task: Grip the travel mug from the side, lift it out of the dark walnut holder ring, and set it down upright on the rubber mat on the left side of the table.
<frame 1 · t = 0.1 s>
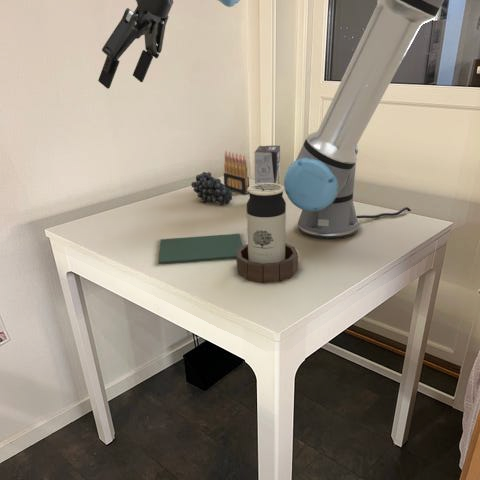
hand: (121, 81, 113), 36 cm above the table, tool tilted 35°, fingers open, 13 cm apart
coffee box: (268, 204, 145), on the table
fruit: (214, 203, 148), on the table
travel mug: (266, 270, 106), resting in holder
holder: (266, 269, 106), on the table
mat: (201, 249, 117), on the table
ammunition clip: (236, 191, 158), on the table
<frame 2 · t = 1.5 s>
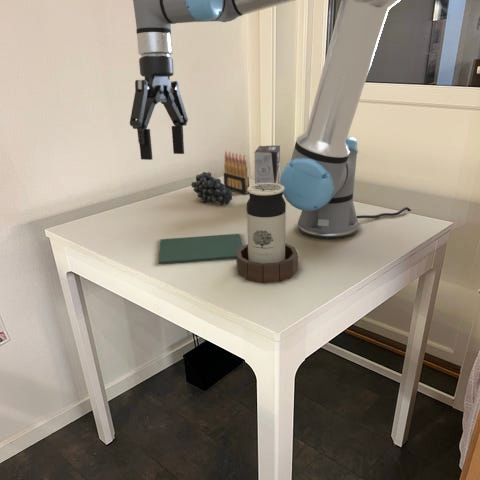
hand: (163, 156, 116), 20 cm above the table, tool pointing down, fingers open, 13 cm apart
nothing on the table moved.
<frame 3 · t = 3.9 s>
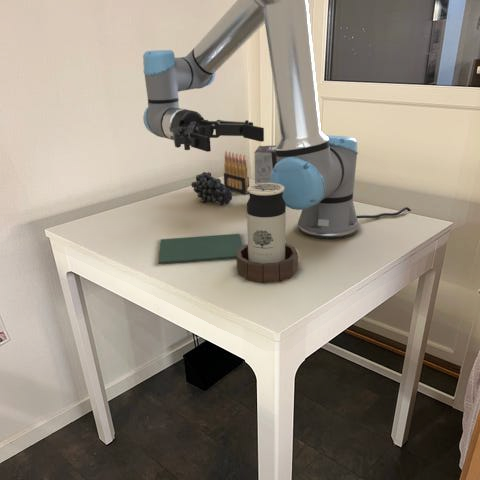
hand: (236, 139, 99), 26 cm above the table, tool horizontal, fingers open, 13 cm apart
nothing on the table moved.
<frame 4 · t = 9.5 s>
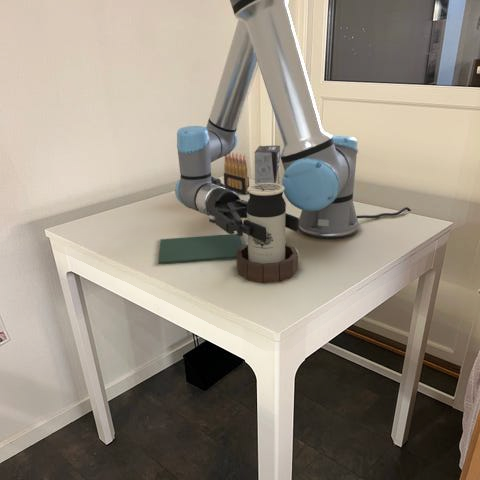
hand: (281, 229, 97), 11 cm above the table, tool horizontal, fingers closed on travel mug, 8 cm apart
travel mug: (266, 269, 106), resting in holder, touching gripper
everything else where it was.
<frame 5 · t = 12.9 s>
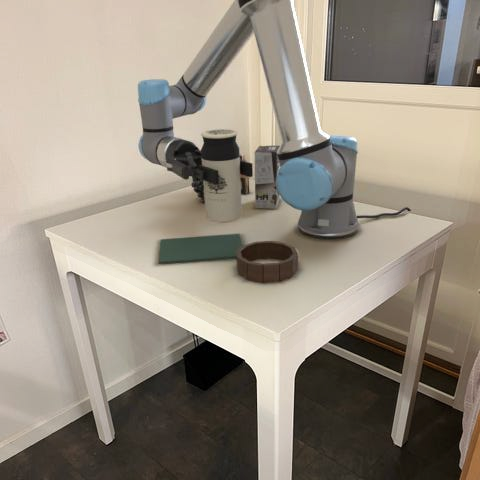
hand: (234, 174, 99), 20 cm above the table, tool horizontal, fingers closed on travel mug, 8 cm apart
travel mug: (223, 218, 108), point 9 cm above the table, touching gripper
everything else where it was.
when the fingers open (11 cm above the table, at t = 16.8 s): travel mug stays where it is, resting on mat.
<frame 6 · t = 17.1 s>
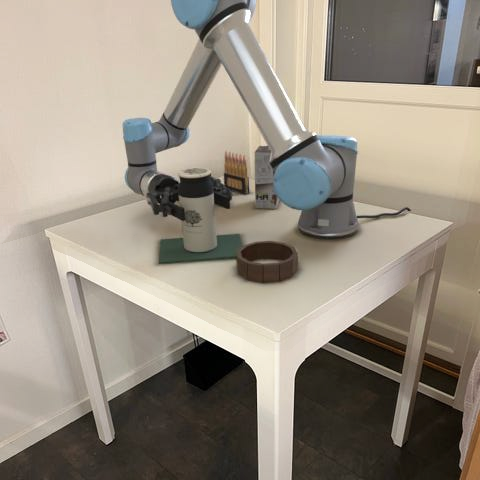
hand: (206, 208, 108), 11 cm above the table, tool horizontal, fingers open, 11 cm apart
travel mug: (200, 247, 117), resting on mat
everything else where it was.
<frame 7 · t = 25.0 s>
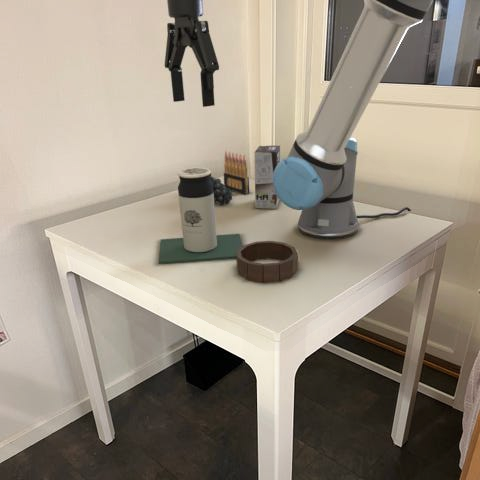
hand: (193, 103, 114), 31 cm above the table, tool pointing down, fingers open, 13 cm apart
nothing on the table moved.
at the end: travel mug inside the target area on the mat (0.1 cm from its centre), point 0.4 cm above the mat's base; travel mug tilted 0°; the gripper is holding nothing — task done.
